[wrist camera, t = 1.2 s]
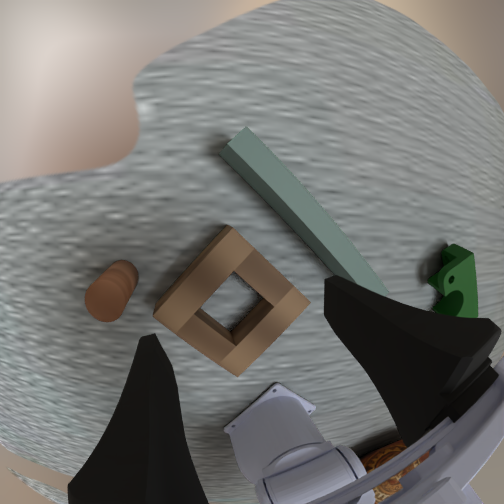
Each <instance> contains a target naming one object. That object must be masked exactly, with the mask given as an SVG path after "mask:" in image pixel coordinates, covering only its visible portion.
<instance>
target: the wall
mask: <svg viewBox="0 0 504 504" xmlns="http://www.w3.org/2000/svg"><path fill="white" fill-rule="evenodd" d="M219 155H220V156H221V157H222V158H223V159H224V160H225V161H226V162H227V163H228V164H229V165H230V166H231V167H232V168H233V169H234V170H235V171H236V172H237V173H238V174H239V175H240V176H241V177H242V178H243V179H244V180H245V181H246V182H247V183H248V184H249V185H250V186H251V187H252V188H253V189H254V190H255V191H256V192H257V193H258V194H259V195H260V196H261V197H262V198H263V199H264V200H265V201H266V202H267V203H268V204H269V205H270V206H271V207H272V208H273V209H274V210H275V211H276V212H277V213H278V214H279V215H280V216H281V217H282V219H283V220H284V221H285V222H286V223H287V224H288V225H289V226H290V227H291V228H292V229H293V230H294V231H295V232H296V233H297V234H298V235H299V236H300V238H301V239H302V240H303V241H304V242H305V243H306V244H307V245H308V246H309V247H310V248H311V249H312V250H313V252H314V253H315V254H316V255H317V256H318V257H319V258H320V259H321V260H322V261H323V262H324V264H325V265H326V266H327V267H328V268H329V269H330V270H331V271H332V272H333V273H334V275H338V276H340V277H343V278H345V279H347V280H349V281H352V282H354V283H356V284H358V285H360V286H362V287H365V288H367V289H369V290H371V291H373V292H376V293H378V294H380V295H382V296H386V295H387V294H388V293H389V291H388V290H387V288H386V287H385V286H384V284H383V283H382V281H381V280H380V279H379V277H378V276H377V275H376V273H375V272H374V271H373V269H372V268H371V267H370V265H369V264H368V263H367V262H366V260H365V259H364V258H363V256H362V255H361V254H360V253H359V251H358V250H357V249H356V247H355V246H354V245H353V244H352V242H351V241H350V240H349V239H348V237H347V236H346V235H345V234H344V233H343V231H342V230H341V229H340V228H339V226H338V225H337V224H336V223H335V222H334V220H333V219H332V218H331V217H330V216H329V215H328V213H327V212H326V211H325V210H324V209H323V208H322V206H321V205H320V204H319V203H318V202H317V201H316V199H315V198H314V197H313V196H312V195H311V194H310V193H309V191H308V190H307V189H306V188H305V187H304V186H303V185H302V184H301V183H300V181H299V180H298V179H297V178H296V177H295V176H294V175H293V174H292V173H291V172H290V171H289V169H288V168H287V167H286V166H285V165H284V164H283V163H282V162H281V161H280V160H279V159H278V158H277V157H276V156H275V155H274V154H273V153H272V151H271V150H270V149H269V148H268V147H267V146H266V145H265V144H264V143H263V142H262V141H261V140H260V139H259V138H258V137H257V136H256V135H255V134H254V133H253V132H252V131H251V130H250V129H249V128H248V127H247V126H246V127H245V128H244V129H243V130H241V131H240V132H239V133H238V134H237V135H236V136H235V137H234V138H233V139H232V140H231V141H230V142H229V143H227V145H226V146H225V147H224V148H223V150H222V151H221V152H220V154H219Z"/></svg>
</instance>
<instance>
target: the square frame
mask: <svg viewBox="0 0 504 504" xmlns="http://www.w3.org/2000/svg"><path fill="white" fill-rule="evenodd" d="M233 271H235V272H236V273H237V274H238V275H239V276H240V277H241V278H242V279H244V280H245V281H246V282H247V283H248V284H249V285H250V286H251V287H253V288H254V289H255V290H256V291H257V292H258V293H259V294H261V295H262V296H263V297H264V298H263V299H262V300H261V301H260V302H259V303H258V304H257V305H256V306H255V307H254V308H253V309H252V310H251V311H250V313H249V314H248V315H247V316H246V317H245V318H244V319H243V320H242V321H241V322H240V323H239V324H238V325H237V326H236V327H235V328H234V329H233V330H232V331H231V332H230V331H229V330H227V329H226V328H225V327H223V326H222V325H221V324H220V323H218V322H217V321H216V320H214V319H213V318H212V317H211V316H209V315H208V314H207V313H206V312H204V311H203V310H202V309H201V308H200V307H201V306H202V305H203V304H204V302H205V301H206V300H207V299H208V298H209V297H210V296H211V295H212V294H213V293H214V292H215V291H216V290H217V289H218V287H219V286H220V285H221V284H222V283H223V282H224V281H225V280H226V279H227V278H228V277H229V276H230V275H231V273H232V272H233ZM310 303H311V302H310V301H309V300H308V299H307V298H306V297H305V296H304V295H303V294H302V293H301V292H300V291H298V290H297V289H296V288H295V287H294V286H293V285H292V284H291V283H290V282H289V281H288V280H287V279H286V278H285V277H284V276H283V275H282V274H281V273H280V272H279V271H278V270H277V269H276V268H275V267H274V266H272V265H271V264H270V263H269V262H268V261H267V260H266V259H265V258H264V257H263V256H262V255H261V254H260V253H259V252H258V251H257V250H256V249H255V248H254V247H253V246H252V245H251V244H250V243H248V242H247V241H246V240H245V239H244V238H243V237H242V236H241V235H240V234H239V233H238V232H237V231H236V230H235V229H234V228H233V227H231V226H229V225H226V227H225V228H224V229H223V230H222V231H221V232H220V233H219V234H218V235H217V236H216V237H215V238H214V239H213V240H212V242H211V243H210V244H209V245H208V246H207V247H206V248H205V249H204V250H203V251H202V252H201V254H200V255H199V256H198V257H197V258H196V259H195V260H194V261H193V262H192V263H191V264H190V266H189V267H188V268H187V269H186V270H185V271H184V272H183V273H182V274H181V276H180V277H179V278H178V279H177V280H176V281H175V282H174V283H173V285H172V286H171V287H170V288H169V289H168V290H167V291H166V292H165V294H164V295H163V296H162V297H161V298H160V299H159V300H158V302H157V303H156V304H155V308H154V312H153V317H154V318H155V319H157V320H158V321H159V322H160V323H162V324H163V325H164V326H165V327H167V328H168V329H169V330H171V331H172V332H173V333H175V334H176V335H177V336H179V337H180V338H181V339H183V340H184V341H185V342H187V343H188V344H190V345H191V346H192V347H194V348H195V349H197V350H198V351H199V352H201V353H202V354H204V355H205V356H206V357H208V358H209V359H211V360H212V361H214V362H215V363H217V364H218V365H220V366H221V367H223V368H224V369H226V370H227V371H229V372H230V373H232V374H233V375H235V376H236V377H238V376H239V375H240V374H241V373H242V372H243V371H245V370H246V369H247V368H248V367H249V366H250V365H251V364H252V363H253V362H254V361H255V360H256V359H257V358H258V357H259V356H260V355H261V354H262V353H263V352H264V351H265V350H266V349H267V348H268V347H269V346H270V345H271V344H272V343H273V342H274V341H275V340H276V339H277V338H278V337H279V336H280V335H281V334H282V333H283V332H284V331H285V330H286V329H287V328H288V326H289V325H290V324H291V323H292V322H293V321H294V320H295V319H296V318H297V317H298V316H299V315H300V314H301V313H302V312H303V311H304V309H305V308H306V307H307V306H308V305H309V304H310Z"/></svg>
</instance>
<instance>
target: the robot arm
mask: <svg viewBox="0 0 504 504" xmlns="http://www.w3.org/2000/svg"><path fill="white" fill-rule="evenodd" d="M324 316H325V318H326V319H327V321H328V323H329V324H330V326H331V328H332V329H333V331H334V332H335V334H336V335H337V336H338V338H339V339H340V340H341V341H342V343H343V344H344V345H345V346H346V347H347V349H348V350H349V351H350V352H351V354H352V355H353V356H354V357H355V358H356V360H357V361H358V362H359V363H360V365H361V366H362V367H363V368H364V370H365V371H366V373H367V374H368V375H369V377H370V379H371V380H372V382H373V383H374V385H375V387H376V388H377V390H378V392H379V393H380V395H381V397H382V399H383V400H384V402H385V404H386V406H387V408H388V410H389V412H390V414H391V416H392V418H393V420H394V422H395V424H396V426H397V428H398V431H399V433H400V435H401V438H402V440H403V443H404V444H405V446H406V447H407V449H406V450H404V451H403V452H401V453H400V454H398V455H397V456H395V457H394V458H392V459H391V460H389V461H388V462H386V463H384V464H383V465H381V466H380V467H378V468H376V469H375V470H373V471H371V472H370V473H368V474H367V472H366V470H365V468H364V466H363V465H362V463H361V461H360V460H359V458H358V457H357V455H356V454H355V453H354V452H353V451H352V450H351V449H350V448H349V447H346V446H343V445H338V446H337V447H335V448H334V446H333V445H332V443H331V442H330V441H327V442H326V441H325V439H324V438H323V436H322V435H321V433H320V432H319V430H318V428H317V427H316V425H315V424H314V422H313V421H312V419H311V418H310V416H309V415H310V414H311V413H312V412H313V411H314V410H315V409H316V406H315V405H314V404H312V403H310V402H309V401H307V400H305V399H304V398H302V397H300V396H299V395H297V394H296V393H294V392H292V391H291V390H289V389H288V388H286V387H284V386H283V385H281V384H280V383H276V384H274V385H273V386H272V387H271V388H270V389H268V390H267V391H266V392H265V393H264V394H263V395H262V396H261V397H260V398H259V399H257V400H256V401H255V402H254V403H253V404H252V405H251V406H249V407H248V408H247V409H246V410H245V411H244V412H242V413H241V414H240V415H239V416H238V417H237V418H235V419H234V420H233V421H232V422H231V423H229V424H228V425H227V426H226V427H224V432H226V433H228V434H229V435H230V439H231V443H232V446H233V450H234V453H235V457H236V460H237V464H238V467H239V469H240V471H241V472H242V474H243V475H244V476H245V478H246V479H247V480H248V481H250V482H251V483H252V484H254V485H256V486H255V491H256V495H257V498H258V500H259V503H260V504H374V502H375V500H376V499H375V493H374V491H373V488H375V487H377V486H378V485H380V484H382V483H383V482H385V481H387V480H388V479H390V478H391V477H393V476H394V475H396V474H397V473H399V472H400V471H402V470H403V469H405V468H406V467H408V466H409V465H410V464H412V463H413V462H414V461H416V460H417V459H419V458H420V457H421V456H423V455H424V454H425V453H426V452H428V451H429V450H430V449H431V450H430V452H429V457H428V458H427V459H426V460H425V461H423V462H422V463H421V464H419V465H418V466H417V467H415V468H414V469H413V470H411V471H410V472H409V473H407V474H406V475H404V476H403V477H401V478H400V479H399V482H400V484H401V485H402V487H403V488H402V489H400V490H399V491H397V492H396V493H394V494H393V495H391V496H389V497H388V498H386V499H384V500H383V501H381V502H379V503H378V504H484V503H483V502H482V501H481V499H480V498H479V497H478V495H477V494H476V492H475V491H474V490H473V488H472V487H471V486H470V484H469V482H470V481H471V480H472V479H473V477H474V476H475V475H476V474H477V473H478V472H479V470H480V469H481V468H482V467H483V465H484V464H485V463H486V462H487V460H488V459H489V458H490V456H491V455H492V454H493V452H494V451H495V450H496V448H497V447H498V445H499V444H500V442H501V441H502V440H503V438H504V356H503V357H502V358H501V360H500V361H499V362H498V363H497V364H496V366H495V367H494V368H492V367H491V366H490V365H491V363H492V360H491V359H490V358H489V357H488V356H489V354H490V353H491V351H492V350H493V348H494V346H495V345H496V343H497V341H498V339H499V337H500V335H501V329H500V328H499V327H498V326H497V325H496V324H495V323H494V322H492V321H491V320H490V319H489V318H466V317H457V316H450V315H444V314H439V313H434V312H430V311H425V310H422V309H418V308H415V307H412V306H409V305H406V304H403V303H400V302H397V301H395V300H392V299H390V298H387V297H385V296H382V295H380V294H378V293H376V292H373V291H371V290H369V289H367V288H365V287H362V286H360V285H358V284H356V283H354V282H352V281H349V280H347V279H345V278H343V277H340V276H338V275H335V276H333V277H330V278H327V279H325V286H324ZM274 389H275V390H274ZM273 390H274V391H273ZM309 410H310V411H309ZM232 425H233V426H232ZM68 503H69V504H209V503H208V500H207V498H206V496H205V493H204V491H203V489H202V486H201V484H200V481H199V479H198V476H197V473H196V470H195V467H194V465H193V462H192V459H191V455H190V452H189V449H188V446H187V442H186V438H185V433H184V428H183V421H182V415H181V408H180V401H179V394H178V387H177V383H176V379H175V375H174V371H173V367H172V364H171V362H170V361H169V359H168V357H167V355H166V353H165V351H164V350H163V348H162V346H161V344H160V342H159V340H158V338H157V336H156V334H151V335H147V336H143V337H141V338H140V340H139V343H138V346H137V350H136V353H135V356H134V360H133V363H132V366H131V369H130V372H129V375H128V378H127V381H126V384H125V387H124V389H123V392H122V394H121V397H120V400H119V402H118V405H117V407H116V409H115V412H114V414H113V416H112V418H111V420H110V422H109V424H108V426H107V428H106V430H105V432H104V434H103V436H102V437H101V439H100V441H99V443H98V444H97V446H96V447H95V449H94V450H93V452H92V454H91V455H90V457H89V458H88V460H87V461H86V463H85V464H84V465H83V467H82V468H81V469H80V470H79V472H78V473H77V474H76V475H75V477H74V478H73V479H72V480H71V482H70V483H69V484H68Z"/></svg>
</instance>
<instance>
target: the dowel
mask: <svg viewBox="0 0 504 504" xmlns="http://www.w3.org/2000/svg"><path fill="white" fill-rule="evenodd" d="M138 278H139V276H138V271H137V269H136V267H135V266H134V265H133V264H132V263H130V262H128V261H125V260H119V261H116V262H114V263H113V264H112V265H111V266H110V267H109V268H108V269H107V270H106V271H105V272H104V273H103V274H102V275H101V276H100V277H99V278H98V279H97V280H96V281H95V282H93V283H92V284H91V285H90V287H89V288H88V289H87V291H86V294H85V304H86V307H87V309H88V311H89V313H90V314H91V315H92V316H93V317H94V318H96V319H97V320H99V321H102V322H112V321H115V320H117V319H118V318H119V317H120V316H121V315H122V313H123V311H124V309H125V307H126V304H127V302H128V300H129V299H130V297H131V295H132V293H133V291H134V289H135V287H136V285H137V283H138Z"/></svg>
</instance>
